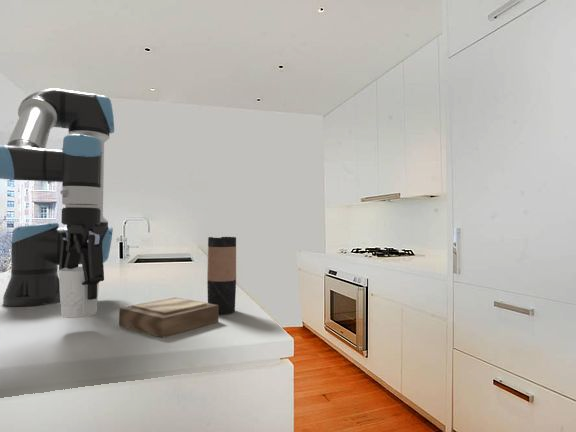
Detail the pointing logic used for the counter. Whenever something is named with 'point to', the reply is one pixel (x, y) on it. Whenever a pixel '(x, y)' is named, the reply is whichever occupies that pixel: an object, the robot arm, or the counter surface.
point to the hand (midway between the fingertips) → (79, 311)
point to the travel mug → (222, 273)
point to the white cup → (72, 292)
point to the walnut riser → (168, 316)
